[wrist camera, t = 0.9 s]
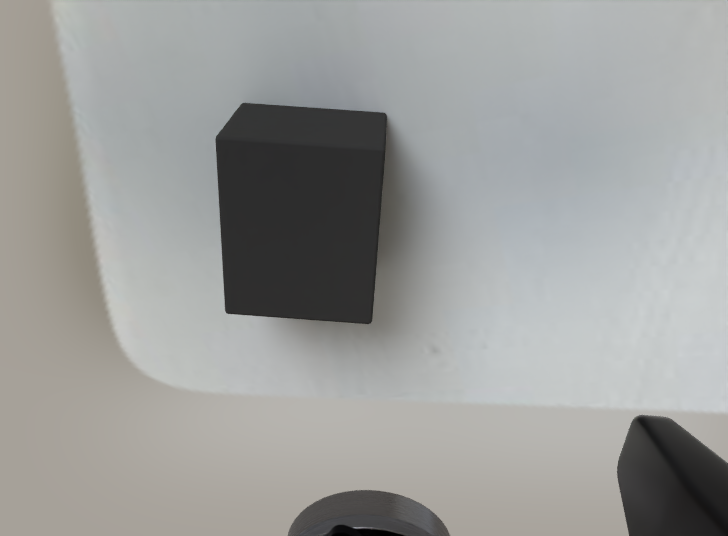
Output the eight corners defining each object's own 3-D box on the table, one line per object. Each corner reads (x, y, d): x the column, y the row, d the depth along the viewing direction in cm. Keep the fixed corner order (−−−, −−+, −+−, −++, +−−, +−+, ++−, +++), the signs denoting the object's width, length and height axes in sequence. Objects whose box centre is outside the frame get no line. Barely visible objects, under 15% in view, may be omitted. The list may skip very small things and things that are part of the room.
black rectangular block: (375, 270, 20) (371, 325, 18) (246, 261, 20) (224, 314, 18) (387, 112, 18) (385, 148, 15) (241, 102, 18) (214, 136, 15)
